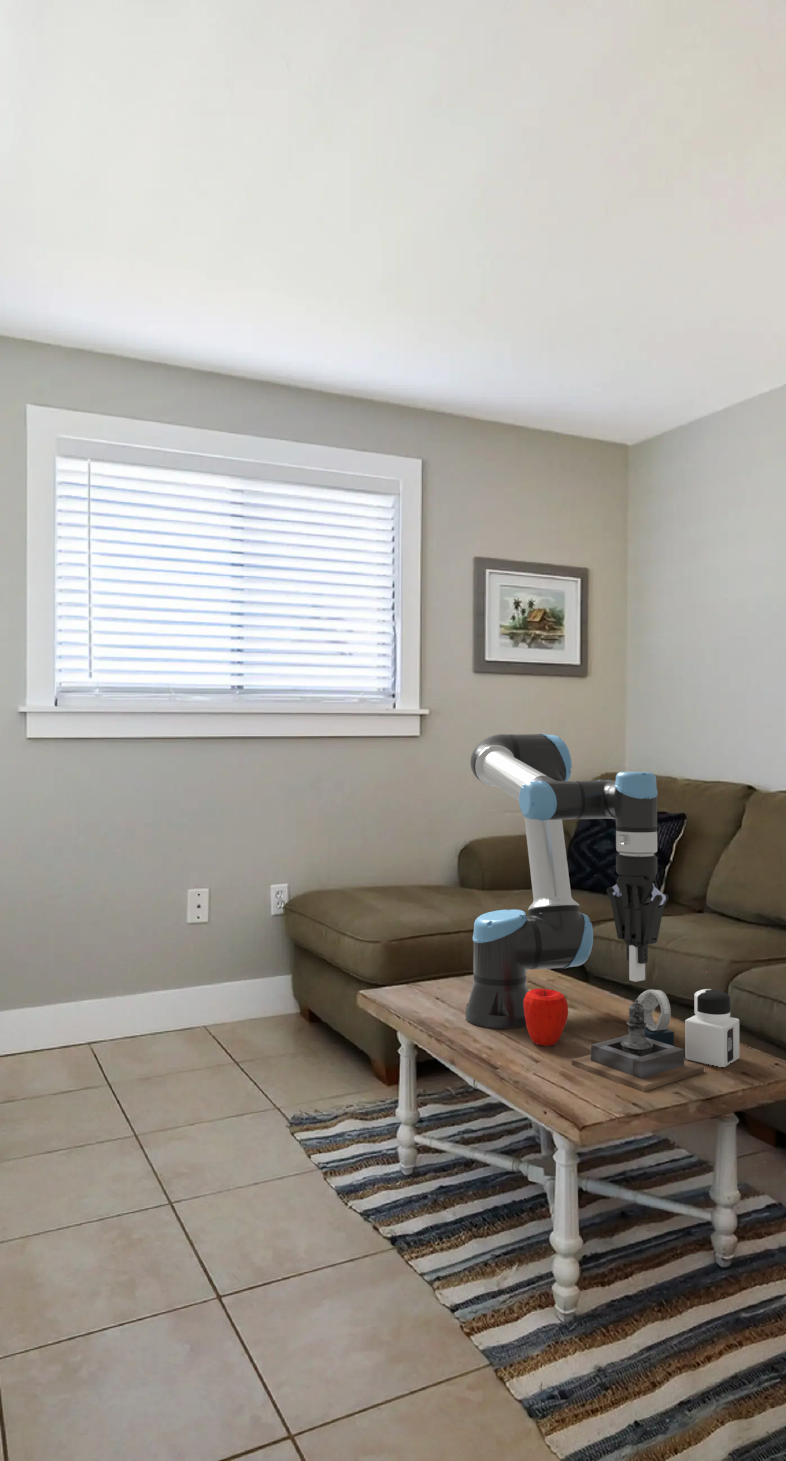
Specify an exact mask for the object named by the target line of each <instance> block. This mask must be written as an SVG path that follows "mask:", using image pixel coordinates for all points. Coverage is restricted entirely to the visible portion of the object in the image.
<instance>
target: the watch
mask: <svg viewBox="0 0 786 1461" xmlns="http://www.w3.org/2000/svg"><path fill="white" fill-rule="evenodd" d="M636 999H637V1000H638V1003H639V1004H641V1005H642V1006H643V1007H644V1022H645V1023H646V1026H645V1037H646V1038H649V1039H652V1040H656V1041H659V1042H662V1043H665V1044H669V1045H672V1046H675V1034H674V1033H675V1032H674V1031H673V1030H671V1029H669V1028H668V1027H669V1025H670V1022H671V1018H672V1014H671V1013H672V1012H671V1011H672V1010H671V1004H670V1000H669V998H668V996H667V995H666V993H665V992H664V991H663V990H660V989H654V988H653V989H647V990H645V991H643V992H642V993H640V995H638V997H637V998H636ZM658 1006H660V1014H659V1016H658V1021H657V1023H655V1020H654V1017H653V1013H654V1012H655V1010H656V1008H657V1007H658Z"/></svg>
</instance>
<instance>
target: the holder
mask: <svg viewBox="0 0 786 1461" xmlns="http://www.w3.org/2000/svg"><path fill="white" fill-rule="evenodd" d="M627 1038H628V1034H626V1035H622V1036H619V1037H618V1036H617V1037H615V1038H611V1039H607V1040H603V1041H599V1042H596V1043H592V1044H590V1054H588V1055H584V1056H580V1057H577V1058H573V1059H572V1060H571V1065H572V1066H573V1067H576V1068H579V1069H582V1070H584V1071H586V1072H589V1073H592V1074H594V1075H597V1076H600V1077H604V1078H606V1079H608V1080H610V1081H615V1082H617V1083H619V1084H623V1085H624V1086H627V1087H631V1088H633V1089H636V1090H639V1091H641V1092H647V1091H650V1090H652V1089H656V1088H659V1087H662V1086H666V1085H668V1084H671V1083H672V1084H673V1083H675V1082H677V1081H680V1080H684V1079H687V1078H689V1077H692V1076H696V1075H699V1074H701V1072H702V1073H704V1072H705V1066H703V1065H701V1064H697V1063H695V1062H692V1061H691V1062H690V1061H689V1060H685V1048H681V1047H677V1046H675V1045H674V1046H672V1045H669V1044H665V1043H662V1042H659V1041H656V1040H652V1039H649V1038H646V1037H645V1038H646V1040H647V1041H649V1042H651V1043H652V1044H653V1047H652V1048H651V1052H650V1054H648V1055H645V1056H641V1057H639V1056H636V1055H633V1054H630V1053H627V1052H624V1051H623V1049H622V1045H621V1041H623V1040H626V1039H627ZM698 1073H699V1074H698Z"/></svg>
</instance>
